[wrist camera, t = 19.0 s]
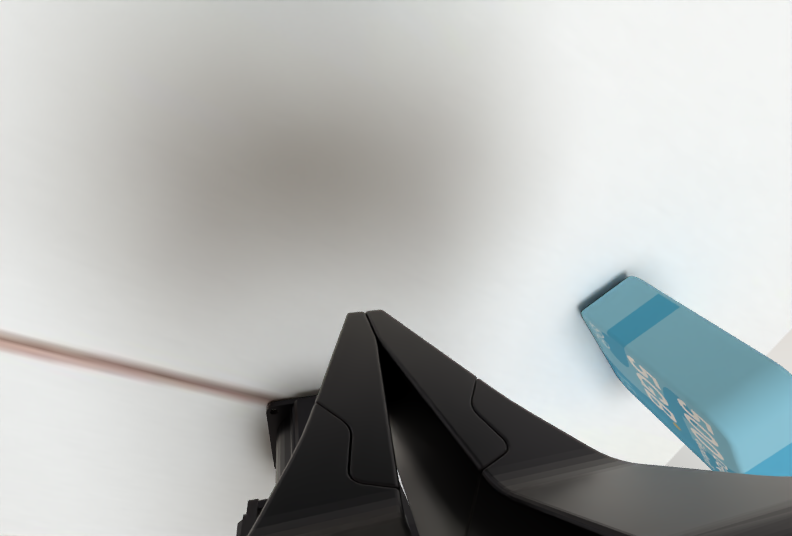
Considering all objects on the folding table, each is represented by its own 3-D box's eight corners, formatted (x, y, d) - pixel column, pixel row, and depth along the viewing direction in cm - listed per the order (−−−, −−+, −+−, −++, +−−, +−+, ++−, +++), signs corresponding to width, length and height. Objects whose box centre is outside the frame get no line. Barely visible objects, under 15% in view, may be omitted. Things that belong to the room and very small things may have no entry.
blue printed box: (573, 304, 30) (728, 435, 19) (624, 267, 29) (810, 381, 19) (620, 382, 36) (756, 513, 25) (662, 352, 35) (818, 474, 25)
